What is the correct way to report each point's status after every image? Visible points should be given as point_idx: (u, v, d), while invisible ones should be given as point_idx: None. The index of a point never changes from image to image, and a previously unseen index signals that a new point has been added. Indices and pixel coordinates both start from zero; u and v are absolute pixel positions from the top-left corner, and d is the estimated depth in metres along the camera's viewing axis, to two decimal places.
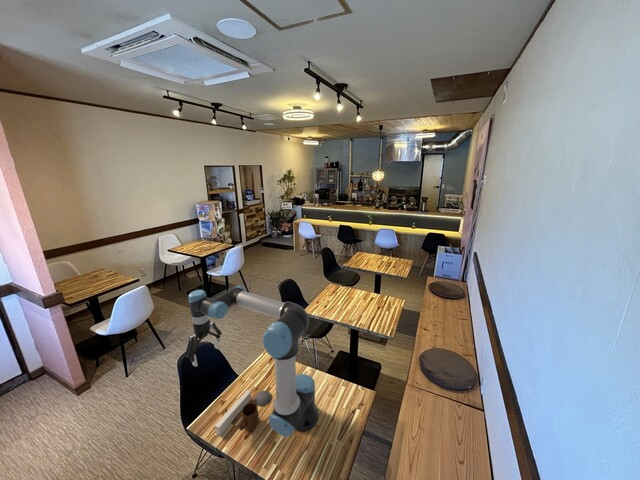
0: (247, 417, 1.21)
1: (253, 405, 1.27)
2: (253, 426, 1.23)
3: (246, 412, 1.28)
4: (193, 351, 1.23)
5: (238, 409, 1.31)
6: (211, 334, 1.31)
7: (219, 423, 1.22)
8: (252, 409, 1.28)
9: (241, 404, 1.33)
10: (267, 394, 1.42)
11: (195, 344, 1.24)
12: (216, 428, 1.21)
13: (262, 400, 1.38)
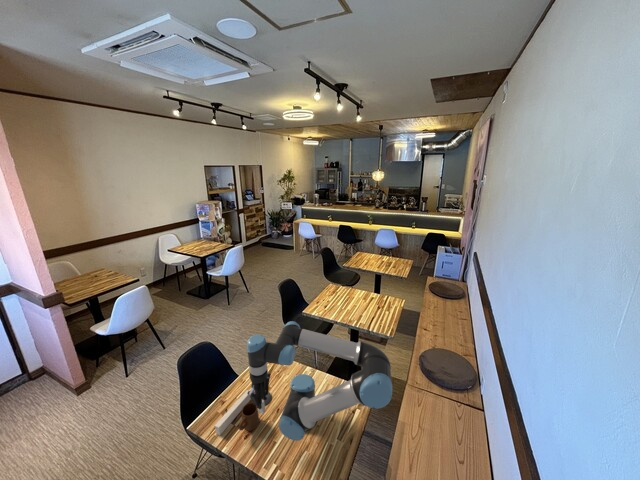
0: (247, 417, 1.21)
1: (253, 405, 1.27)
2: (253, 426, 1.23)
3: (246, 412, 1.28)
4: (259, 400, 1.11)
5: (238, 409, 1.31)
6: (263, 389, 1.13)
7: (219, 423, 1.22)
8: (252, 409, 1.28)
9: (241, 404, 1.33)
10: None
11: (258, 394, 1.11)
12: (216, 428, 1.21)
13: None
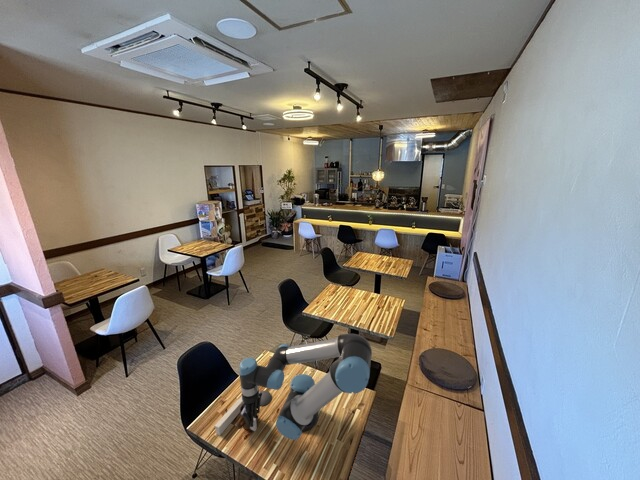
0: None
1: None
2: None
3: None
4: (251, 419, 1.18)
5: (238, 409, 1.31)
6: (254, 408, 1.19)
7: (219, 423, 1.22)
8: None
9: (241, 404, 1.33)
10: (267, 394, 1.42)
11: (249, 413, 1.17)
12: (216, 428, 1.21)
13: (262, 400, 1.38)
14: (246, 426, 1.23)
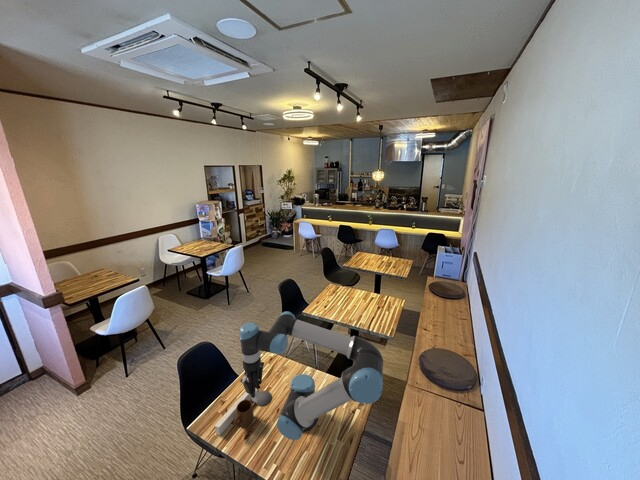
0: (242, 414, 1.22)
1: (248, 402, 1.29)
2: (248, 423, 1.25)
3: (241, 409, 1.29)
4: (253, 389, 1.12)
5: None
6: (256, 377, 1.13)
7: (219, 423, 1.22)
8: (247, 406, 1.30)
9: None
10: (267, 394, 1.42)
11: (251, 382, 1.11)
12: (216, 428, 1.21)
13: (262, 400, 1.38)
14: (243, 424, 1.24)
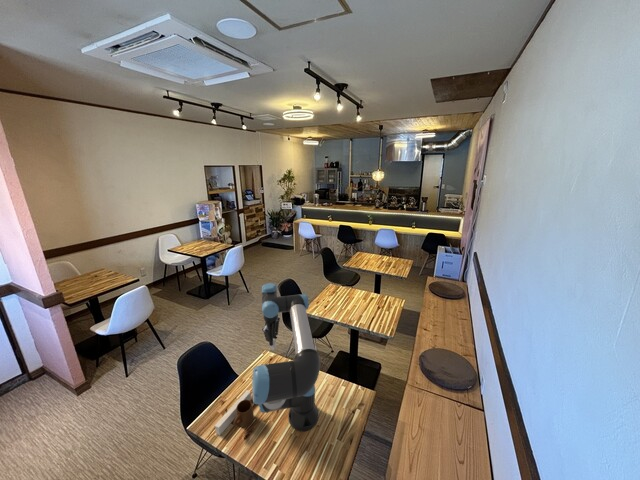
0: (242, 414, 1.22)
1: (248, 402, 1.29)
2: (248, 423, 1.25)
3: (241, 409, 1.29)
4: (271, 337, 1.38)
5: None
6: (274, 328, 1.39)
7: (219, 423, 1.22)
8: (247, 406, 1.30)
9: None
10: None
11: (270, 332, 1.37)
12: (216, 428, 1.21)
13: None
14: (243, 424, 1.24)
